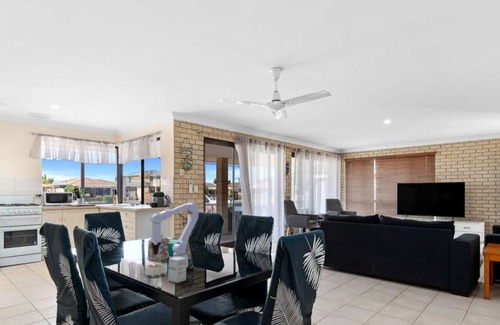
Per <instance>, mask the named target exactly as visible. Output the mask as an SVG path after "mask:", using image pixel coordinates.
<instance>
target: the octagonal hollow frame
mask: <svg viewBox="0 0 500 325" xmlns="http://www.w3.org/2000/svg"><path fill="white" fill-rule="evenodd" d="M154 264H155V263H152V264H151V263H150V264H146V265H143V271H144V275H145V276H146V277H151V278H153V277H154V278H155V277H160V276H164V274H165V265H164V264H162V263H156V264H157V265H158V267H157V268H152V265H154Z"/></svg>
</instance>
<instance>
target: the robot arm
mask: <svg viewBox="0 0 500 325" xmlns="http://www.w3.org/2000/svg"><path fill="white" fill-rule="evenodd" d="M183 211H186V213H187V214H188V216H189V219H188V221H187V223H186V224H185V227H184V228H183V231H182V232H181V234H180V236H179V238H178V239H176V241H175V243H173V245H172V246H171V250H172V251H173V253H172V254H173V255H172V258H173V257H183V258H186V269H187V268H188V267H189V256H188V254H186V253H185V252H186V251H187V246H188V241H189V238H190V236H191V234H192V231H193V230H194V228H195V226H196V223H197V222H198V219H199V211H200V207H199V205H198V203H197V202H187V203H183V204H181V205H179V206H177V207H174V208H172V209H169V208H165V209H164V210H162V211H159V212H157V213H154V214H152V216H150V217H151V218H150V221H151V238H152V240H150V239H149V240H150V241H151V242H154V243H151V245H152V247H153V252H154V255H157V254H158V249H159V246H160V244H161V242H160V241H161V235H162V223H163V221H166V220H168V219H170V218H172V217H173V215H175V214H178V213H181V212H183Z"/></svg>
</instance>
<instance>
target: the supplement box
mask: <svg viewBox="0 0 500 325" xmlns="http://www.w3.org/2000/svg"><path fill="white" fill-rule="evenodd" d="M167 272H168V273H167V274H168V276H167V278H168V279H167V281H168V282H172V283H176V284H178V283H182V282H184V281H186V280H187V268H186V258H183V257H173V256H172V257H169V259H168V271H167Z"/></svg>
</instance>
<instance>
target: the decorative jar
mask: <svg viewBox="0 0 500 325" xmlns="http://www.w3.org/2000/svg"><path fill="white" fill-rule="evenodd" d="M150 240H152V237H150V239H149V240H148V242H147V243H148V244H147V260H149V261H155V262H160V261H161V260H162V261H165V260H164V259H166V260H168V259H167V258H168V257H169V253H168V244H169V242H170V243H171V241H170V239H169V238H168V237H167V236H163V234H161V241H160V242H161V244H160V246H159V249H158V254H157V255H154V252H153V247H152V245H151V243H154V242H151V241H150ZM169 258H170V257H169Z"/></svg>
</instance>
